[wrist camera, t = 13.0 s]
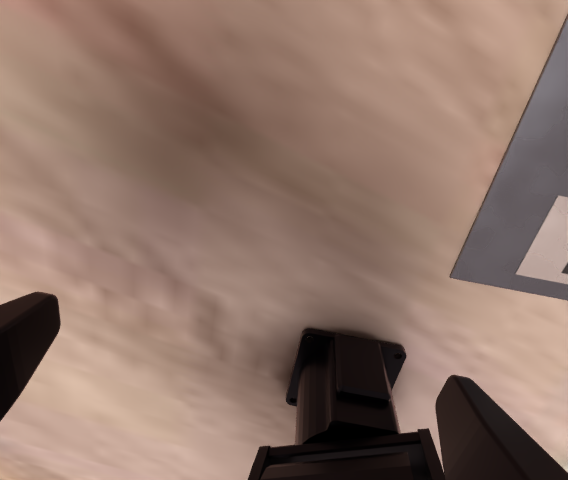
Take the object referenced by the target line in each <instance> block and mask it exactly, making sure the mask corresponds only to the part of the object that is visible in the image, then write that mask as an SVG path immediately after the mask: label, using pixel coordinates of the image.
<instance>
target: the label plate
mask: <svg viewBox="0 0 568 480" xmlns="http://www.w3.org/2000/svg"><path fill="white" fill-rule="evenodd" d="M450 278H454V279H459V280H464V281H469V282H475V283H480V284H485V285H490V286H495V287H501V288H506V289H511V290H516V291H522V292H527V293H532V294H537V295H543V296H548V297H553V298H558V299H563V300H568V15H567V17H566V19H565V22H564V24H563V26H562V28H561V30H560V33H559V35H558V37H557V39H556V42H555V44H554V46H553V48H552V50H551V53H550V55H549V57H548V59H547V62H546V64H545V66H544V68H543V70H542V73H541V75H540V77H539V79H538V81H537V84H536V86H535V88H534V90H533V93H532V95H531V97H530V99H529V101H528V104H527V106H526V108H525V110H524V113H523V115H522V117H521V119H520V121H519V124H518V126H517V128H516V130H515V132H514V135H513V137H512V139H511V141H510V144H509V146H508V148H507V150H506V152H505V155H504V157H503V159H502V161H501V164H500V166H499V168H498V170H497V172H496V175H495V177H494V179H493V181H492V184H491V186H490V188H489V190H488V192H487V195H486V197H485V199H484V201H483V203H482V206H481V208H480V210H479V212H478V215H477V217H476V219H475V221H474V223H473V226H472V228H471V230H470V232H469V235H468V237H467V239H466V241H465V243H464V246H463V248H462V250H461V252H460V254H459V257H458V259H457V261H456V263H455V266H454V268H453V270H452V272H451V274H450Z"/></svg>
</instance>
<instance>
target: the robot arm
mask: <svg viewBox="0 0 568 480" xmlns="http://www.w3.org/2000/svg"><path fill="white" fill-rule="evenodd" d="M59 329H60V314H59V305H58V299H57V297H56V296H55V295H53V294H48V293H43V292H34V293H31V294H28V295H25V296H23V297H20V298H17V299H15V300H12V301H9V302H7V303H4V304H1V305H0V421H1V420H2V419H3V417H4V416H5V415H6V413H7V412H8V411H9V409H10V408H11V407H12V405H13V404H14V403H15V401H16V400H17V398H18V397H19V396H20V394H21V393H22V391H23V390H24V388H25V387H26V385H27V383H28V382H29V380H30V378H31V377H32V375H33V374H34V372H35V370H36V369H37V367H38V365H39V364H40V362H41V360H42V359H43V357H44V355H45V354H46V352H47V351H48V349H49V347H50V346H51V344H52V342H53V341H54V339H55V337H56V336H57V334H58V332H59ZM308 336H311V337H312V338H307V337H308ZM396 353H400V354H396ZM405 359H406V353H405V349H404V348H403V347H402V346H399V345H394V344H389V343H384V342H378V341H373V340H368V339H362V338H357V337H352V336H347V335H341V334H336V333H331V332H325V331H320V330H315V329H306V330H304V331H303V332H302V335H301V339H300V343H299V347H298V351H297V355H296V358H295V362H294V366H293V370H292V374H291V378H290V382H289V386H288V390H287V394H286V402H287V403H288V404H289V405H293V406H297V417H296V435H295V445H289V446H279V447H270V446H262V447H259V450H258V453H257V455H256V458H255V461H254V463H253V466H252V469H251V472H250V475H249V478H248V480H568V473H567V472H566V471H565V470H564V469H563V468H562V467H561V466H560V465H559V464H558V463H557V462H556V461H555V460H554V459H553V458H552V457H551V456H550V455H549V454H548V453H547V452H546V451H545V450H544V449H543V448H542V447H541V446H540V445H539V444H538V443H537V442H536V441H534V440H533V439H532V438H531V437H530V436H529V435H528V434H527V433H526V432H525V431H524V430H523V429H522V428H521V427H520V426H519V425H518V424H517V423H516V422H515V421H514V420H513V419H512V418H511V417H510V416H509V415H508V414H507V413H506V412H505V411H504V410H503V409H502V408H501V407H499V406H498V405H497V404H496V403H495V402H494V401H493V400H492V399H491V398H490V397H489V396H488V395H487V394H486V393H485V392H484V391H483V390H482V389H481V388H480V387H479V386H478V385H477V384H476V383H475V382H474V381H473V380H471V379H470V378H467V377H463V376H458V375H451V376H450V377H449V378H448V379H447V381H446V383H445V385H444V386H443V388H442V390H441V392H440V394H439V395H438V397H437V400H436V416H437V424H438V431H439V439H440V446H441V454H442V461H443V468H444V472H443V469H442V466H441V463H440V460H439V457H438V454H437V451H436V448H435V445H434V442H433V440H432V437H431V434H430V431H429V428H427V429H418V432H410V433H400V429H399V424H398V419H397V415H396V410H395V406H394V401H393V396H392V392H391V390H392V388H393V386H394V384H395V381H396V379H397V377H398V374H399V372H400V370H401V368H402V365H403V363H404V361H405ZM444 474H445V475H444Z"/></svg>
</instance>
